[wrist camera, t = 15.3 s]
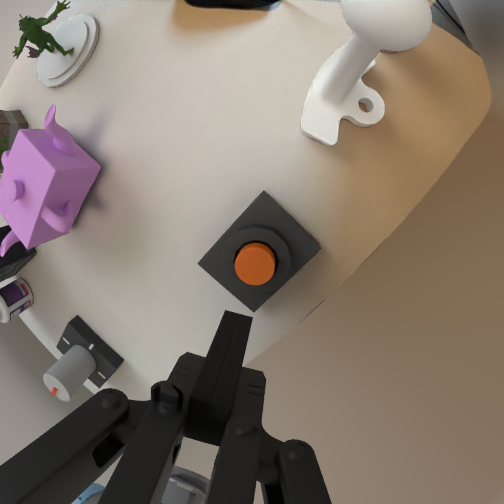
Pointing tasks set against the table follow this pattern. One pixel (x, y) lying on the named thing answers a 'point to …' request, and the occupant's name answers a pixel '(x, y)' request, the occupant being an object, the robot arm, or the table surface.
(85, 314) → the table surface
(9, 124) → the mug
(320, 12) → the table surface
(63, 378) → the temp dial
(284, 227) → the switch block
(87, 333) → the dial panel
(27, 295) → the pill bottle
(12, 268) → the small box
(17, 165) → the teapot
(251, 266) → the button
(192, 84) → the table surface
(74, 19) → the monster figurine
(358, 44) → the joystick
